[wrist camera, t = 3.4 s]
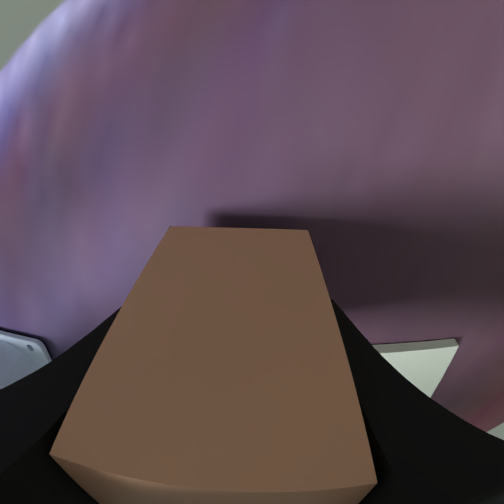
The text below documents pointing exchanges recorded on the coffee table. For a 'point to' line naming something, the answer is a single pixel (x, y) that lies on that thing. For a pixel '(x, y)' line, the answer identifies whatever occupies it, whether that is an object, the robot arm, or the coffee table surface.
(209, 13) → the coffee table surface
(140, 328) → the terracotta block
